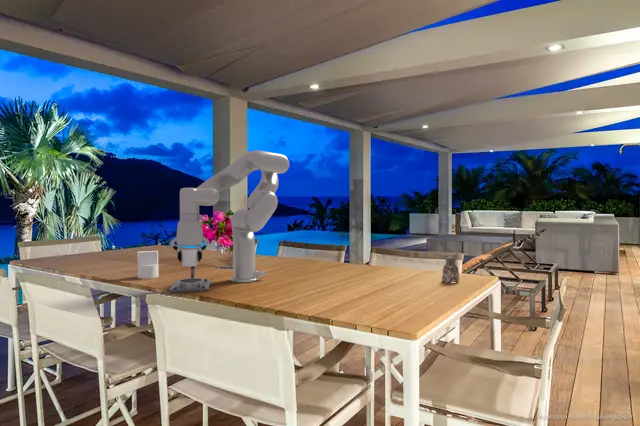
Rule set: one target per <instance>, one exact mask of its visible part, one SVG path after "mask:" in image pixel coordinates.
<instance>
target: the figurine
mask: <svg viewBox="0 0 640 426" xmlns="http://www.w3.org/2000/svg"><path fill="white" fill-rule="evenodd" d="M459 273H460V272H459V267H458V266H457V264H456V257H455V255H454V254H453V253H449V254H447V255H446V256H445V265H444V266H443V269H442V275H441V282H442V281H445V282H460V274H459ZM445 282H444V283H445Z"/></svg>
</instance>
